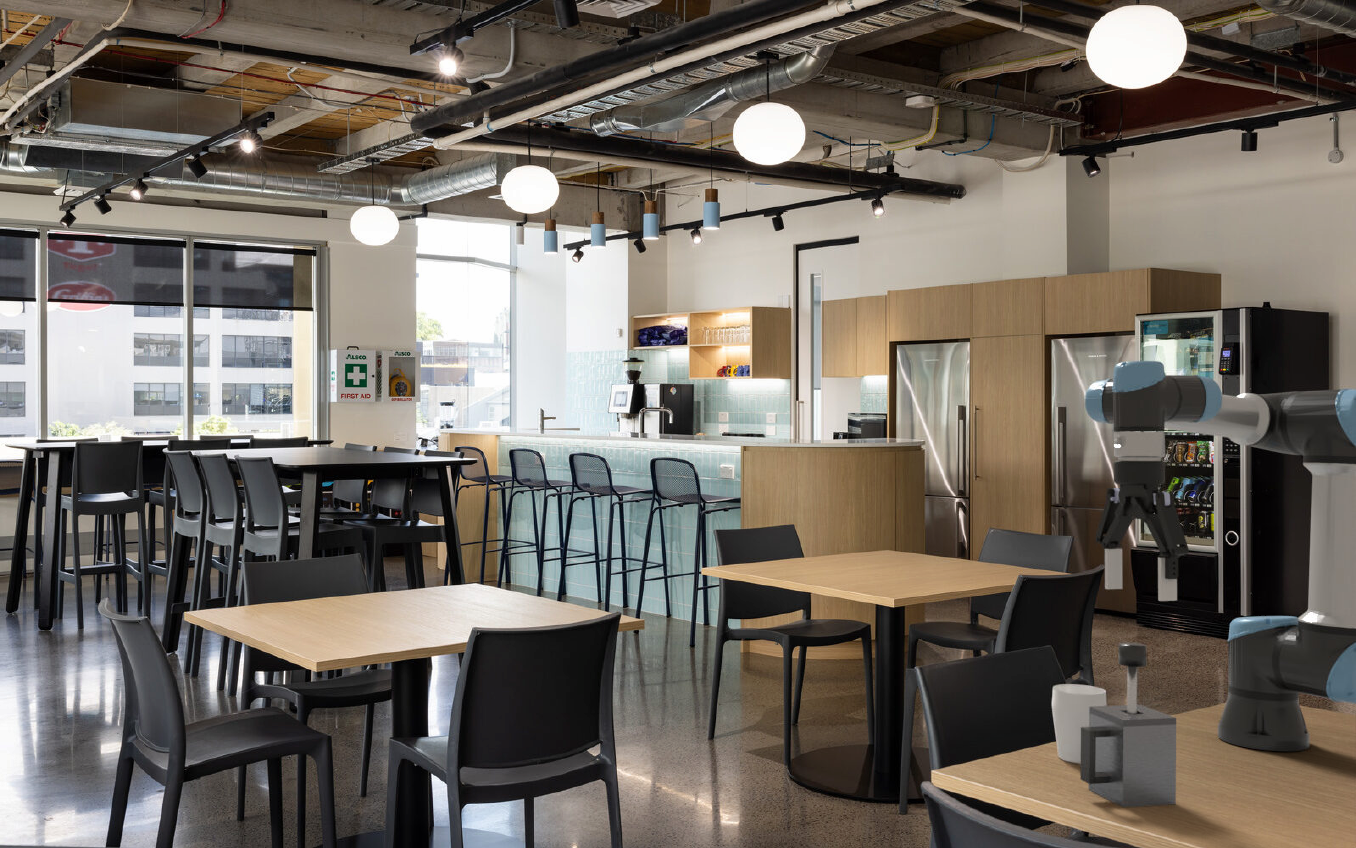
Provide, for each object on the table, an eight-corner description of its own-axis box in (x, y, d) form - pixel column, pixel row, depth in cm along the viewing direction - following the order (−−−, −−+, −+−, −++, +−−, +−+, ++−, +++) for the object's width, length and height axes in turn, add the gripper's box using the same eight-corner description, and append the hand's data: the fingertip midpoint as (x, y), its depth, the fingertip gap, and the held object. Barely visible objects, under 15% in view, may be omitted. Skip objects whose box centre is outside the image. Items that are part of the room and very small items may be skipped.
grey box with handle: (1139, 786, 183) (1140, 704, 183) (1175, 804, 174) (1176, 718, 174) (1068, 790, 180) (1069, 707, 180) (1101, 808, 171) (1102, 721, 172)
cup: (1110, 768, 194) (1111, 696, 194) (1054, 764, 195) (1055, 693, 196) (1101, 754, 202) (1102, 685, 203) (1048, 750, 204) (1048, 682, 204)
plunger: (1137, 770, 181) (1138, 640, 182) (1162, 782, 175) (1163, 648, 176) (1100, 772, 180) (1102, 641, 180) (1125, 784, 174) (1126, 649, 174)
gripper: (1072, 458, 192) (1073, 585, 192) (1169, 461, 168) (1170, 606, 168) (1112, 457, 194) (1113, 583, 194) (1213, 460, 170) (1214, 605, 170)
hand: (1139, 594), depth 181 cm, fingers open, 13 cm apart
